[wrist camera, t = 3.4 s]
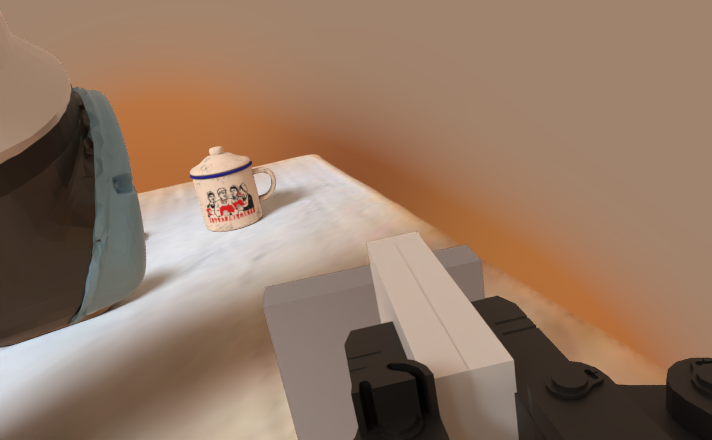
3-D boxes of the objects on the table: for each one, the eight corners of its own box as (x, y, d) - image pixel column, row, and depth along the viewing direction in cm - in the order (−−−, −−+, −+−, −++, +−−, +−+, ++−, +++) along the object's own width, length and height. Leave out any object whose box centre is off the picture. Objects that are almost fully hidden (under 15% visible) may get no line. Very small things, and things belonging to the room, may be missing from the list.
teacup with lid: (205, 238, 71) (182, 159, 67) (205, 220, 79) (185, 149, 75) (287, 217, 73) (269, 140, 69) (279, 202, 81) (262, 133, 78)
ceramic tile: (500, 463, 26) (481, 259, 22) (316, 508, 26) (262, 307, 22) (485, 433, 28) (464, 242, 24) (314, 474, 28) (265, 285, 24)
